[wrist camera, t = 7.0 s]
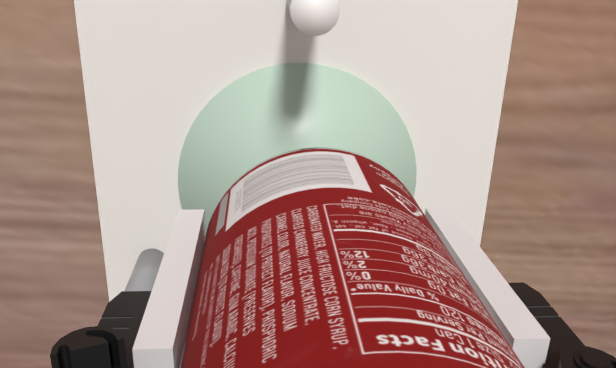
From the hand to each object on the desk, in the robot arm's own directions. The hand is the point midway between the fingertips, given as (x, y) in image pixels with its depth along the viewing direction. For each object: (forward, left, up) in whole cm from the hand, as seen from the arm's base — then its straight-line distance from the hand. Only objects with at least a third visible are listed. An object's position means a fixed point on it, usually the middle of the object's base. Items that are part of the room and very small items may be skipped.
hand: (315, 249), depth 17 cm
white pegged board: (0, 0, -7) cm, 7 cm away
